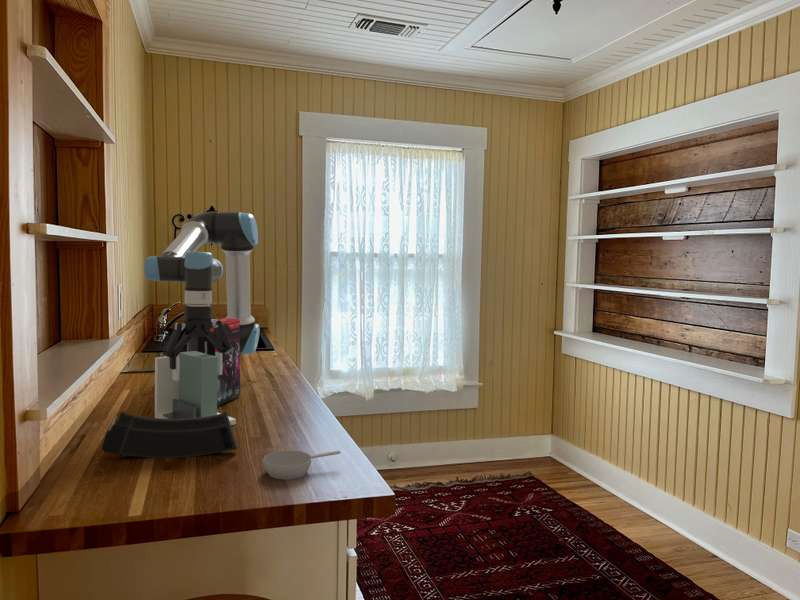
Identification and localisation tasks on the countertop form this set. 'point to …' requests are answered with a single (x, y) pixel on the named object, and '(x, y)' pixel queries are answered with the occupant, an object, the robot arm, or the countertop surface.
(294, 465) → the saucepan
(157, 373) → the white panel stand
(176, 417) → the grey block bar
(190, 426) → the magazine
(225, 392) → the graphics card box
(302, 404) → the countertop surface
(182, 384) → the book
